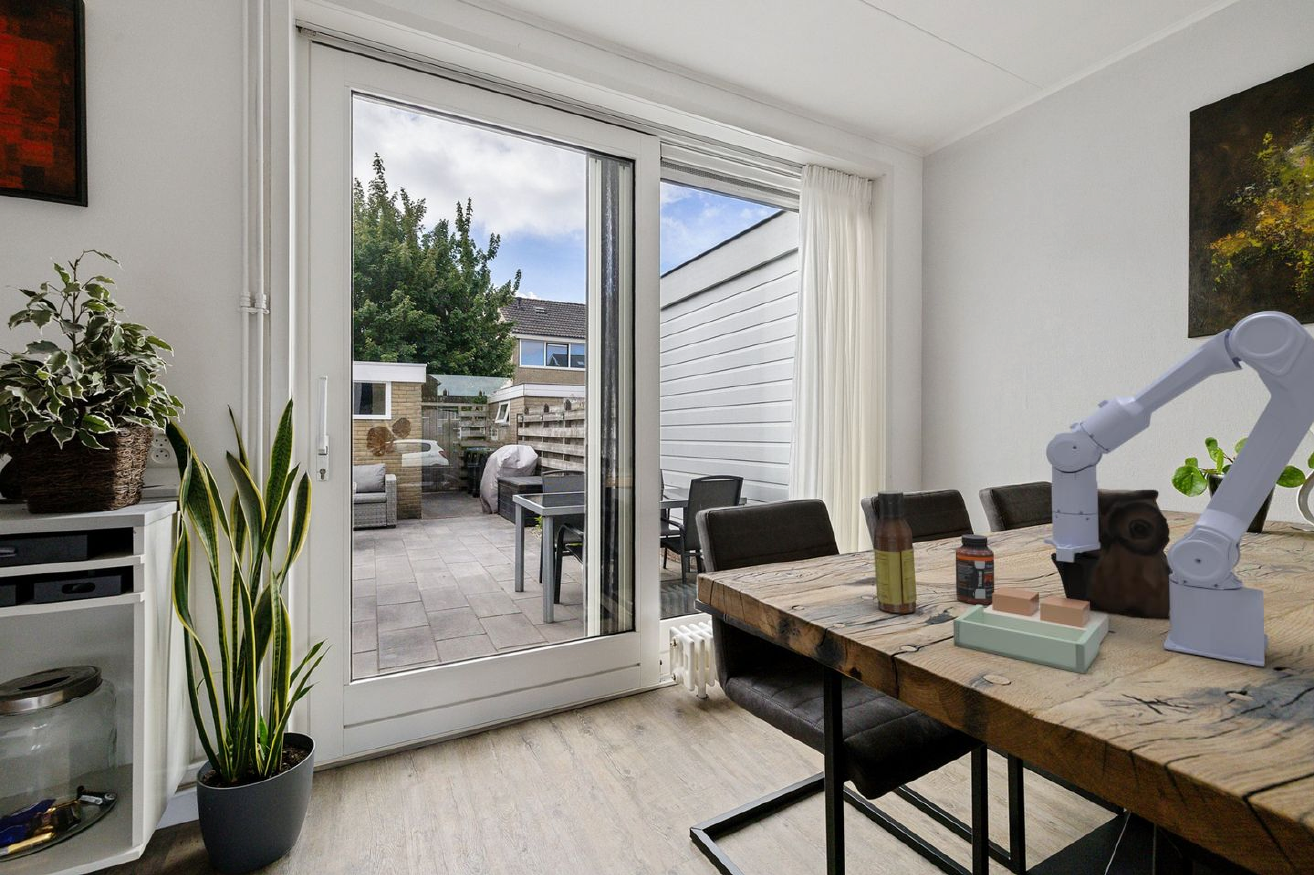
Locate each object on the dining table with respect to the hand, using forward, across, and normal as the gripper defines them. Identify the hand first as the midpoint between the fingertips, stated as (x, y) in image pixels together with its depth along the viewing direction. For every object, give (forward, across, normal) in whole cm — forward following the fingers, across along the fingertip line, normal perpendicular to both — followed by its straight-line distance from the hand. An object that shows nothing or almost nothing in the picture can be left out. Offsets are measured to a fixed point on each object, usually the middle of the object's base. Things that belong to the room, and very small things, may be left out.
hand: (1076, 601), depth 91 cm
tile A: (+1, +8, 0) cm, 8 cm away
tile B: (+1, +6, -6) cm, 9 cm away
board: (+3, +6, -3) cm, 8 cm away
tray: (+3, +16, -3) cm, 17 cm away
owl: (+4, -15, +4) cm, 16 cm away
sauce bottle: (+4, +10, -24) cm, 26 cm away
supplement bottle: (+4, -4, -16) cm, 16 cm away
